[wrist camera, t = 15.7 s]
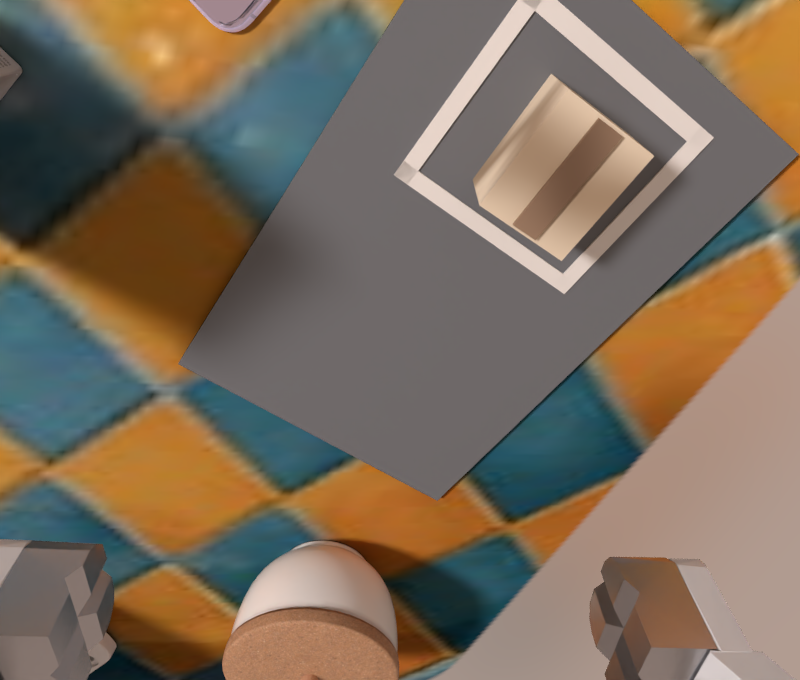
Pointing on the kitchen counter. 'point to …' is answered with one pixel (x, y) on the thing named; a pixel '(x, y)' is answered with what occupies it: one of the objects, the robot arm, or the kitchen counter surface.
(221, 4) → the mobile phone
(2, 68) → the coffee box
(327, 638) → the lidded jar
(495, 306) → the rubber mat
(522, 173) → the taped cardboard box
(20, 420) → the kitchen counter surface
